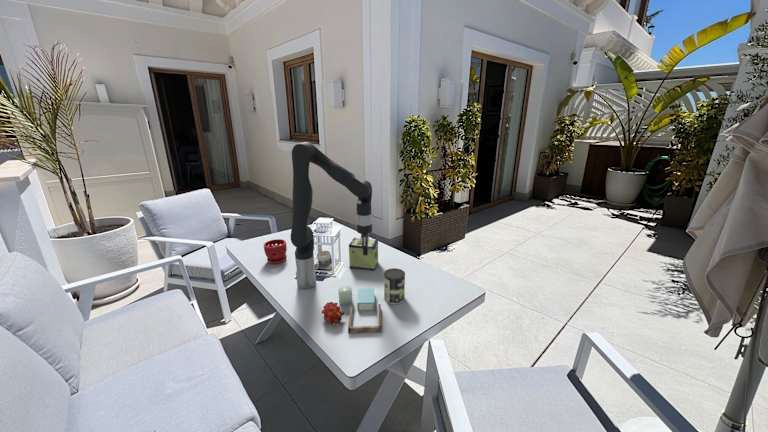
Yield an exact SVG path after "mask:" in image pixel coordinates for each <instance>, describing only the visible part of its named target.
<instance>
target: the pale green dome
mask: <svg viewBox="0 0 768 432" xmlns="http://www.w3.org/2000/svg"><path fill="white" fill-rule="evenodd" d="M352 289H353V288H352V287H351V286H349V285H343V286H340V287H338V290H337V292H338V305H341V306H343V307H344V306H345V307H347V306H351V305H352V303H353V290H352Z"/></svg>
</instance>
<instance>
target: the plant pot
mask: <svg viewBox="0 0 768 432" xmlns="http://www.w3.org/2000/svg"><path fill="white" fill-rule="evenodd" d="M287 249H288V248H287V241H286V239H282V238H278V239H277V238H275V239H270V240H269V241H266V242H264V243H263V250H264V254H265V256H266V259H267V260H266V261H267V262H268V263H269V264H280V263H282V262H284V261H286V260H287V258H288V255H286V254H287V251H288V250H287Z"/></svg>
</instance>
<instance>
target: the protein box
mask: <svg viewBox="0 0 768 432" xmlns="http://www.w3.org/2000/svg"><path fill="white" fill-rule="evenodd" d="M348 258H349V269H355V270H366V271H375V270H376V268H377V266H378V264H379V240H378V239H375V238H374V239H372V238H369V244H368V255H363V249H362V243H361V237H360V238H359V237H354V238H353V239H352V240H351V242H349V244H348Z"/></svg>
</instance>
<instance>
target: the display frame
mask: <svg viewBox="0 0 768 432" xmlns="http://www.w3.org/2000/svg"><path fill="white" fill-rule="evenodd" d="M377 306H378V307H377V309H378V325H371V326H370V325H364V326H362V325H361V326H352V323H353V316H354V315H353V313H354V304H350V309H349V316H348V324H347V333H348V334H366V333H368V334H369V333H372V334H373V333H382V310H381V309H382V306H381V303H378V305H377Z"/></svg>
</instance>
